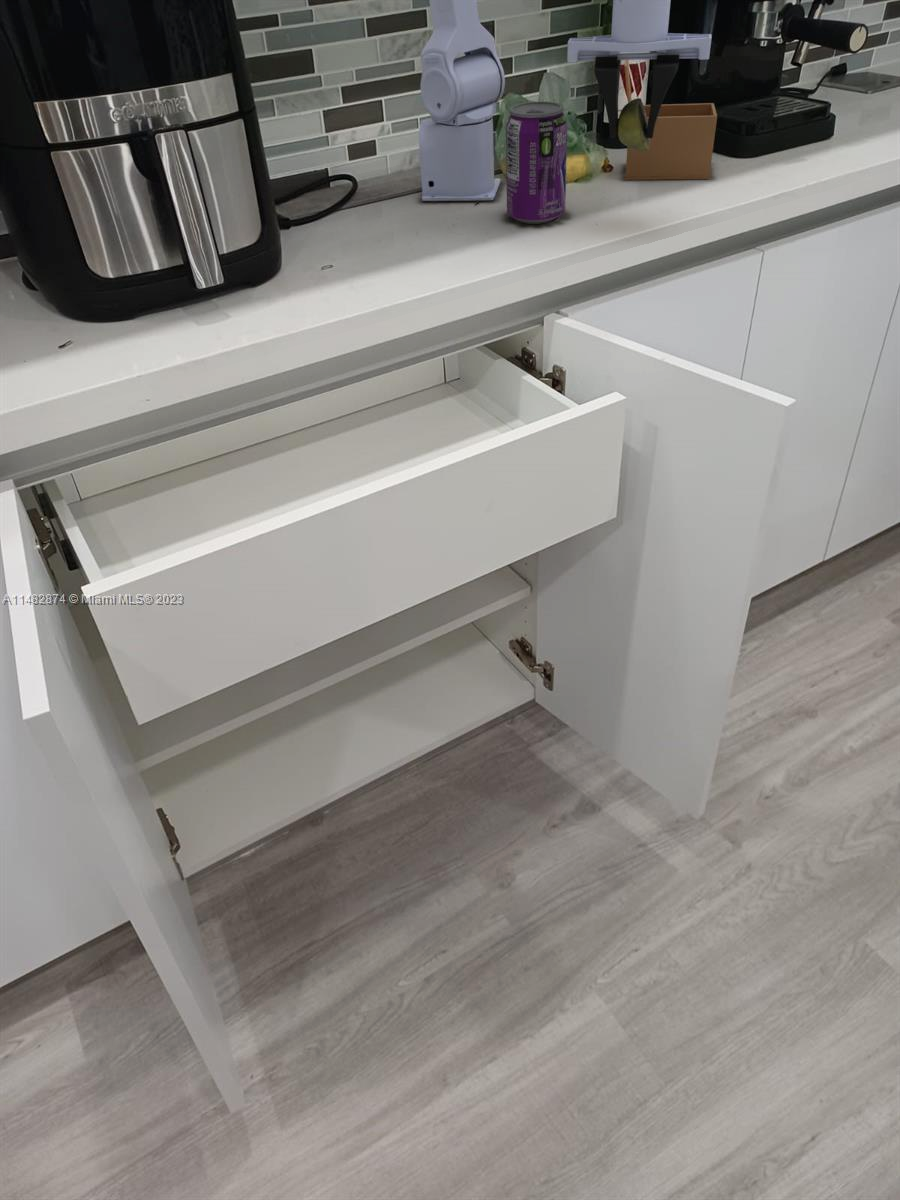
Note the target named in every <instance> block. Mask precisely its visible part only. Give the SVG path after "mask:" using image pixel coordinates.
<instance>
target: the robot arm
mask: <svg viewBox="0 0 900 1200" xmlns="http://www.w3.org/2000/svg"><path fill="white" fill-rule="evenodd" d="M671 1H672V0H612V15H611V16H612V17H611V33H610V34H607V35H598V36H596V35H595V36H586V37H570V38H569V39H568V41H567V55H566V59H567V60H566V62H567V64H569V63H570V64H571V63H572V64H573V63H578V62H592V61H593V62H594V68H593V71H594V75H595V79H596V81H597V84H598V86H599V90H600V92H601V95H602V98H603V102H604V106H605V110H606V114H607V115H606V116H607V120H608V129H609V130H608V131H609V139H617V136H618V133H617V122H618V118H619V91H620V77H621V66H622V65H621V64H622V61H625V60H628V61H631V60H632V61H634V60H639V61H640V60H641V61H642V60H654V63H653V69H652V84H651V96H650V105H651V106H650V113H649V119H648V125H647V135H646V138H653V134H654V127H655V123H656V120H657V116H658V113H659V110H660V107H661V105H663V102H664V101H665V100H664V99H665V98H666V95H667V92H668V91H669V88H670V86H671V84H672V82H673V80H674V78H675V76H676V74H677V72H678V70H679V65H680V59H681V60H682V59H698V60H709V59H710V56H711V55H710V54H711V46H712V34H711V33H675V32H674V33H673V32H669V24H670V12H671V11H670V10H671ZM429 9H430V15H431V21H432V27H433V31H432V34H431V36H430V38H429V39H428V41H427V42H426V44H425V46H423V49H422V50H421V53H420V63H421V79H420V87H419V88H420V97H421V99H422V103H423V106H424V108H425V110H426V112H427V113H428V114H429V116H430V117H431V118H427V119H422V120H421V121H420V124H419V125H420V126H419V130H418V131H419V132H418V152H419V165H420V179H421V180H420V181H421V194H422V195H421V201H423V202H446V201H447V202H449V201H450V202H456V201H457V202H459V201H461V202H463V201H464V202H465V201H468V202H469V201H471V202H472V201H474V202H475V201H493V200H495V197H496V195H497V192H498V190H499V187H500V184H501V178H495V158H494V157H495V156H494V154H495V153H494V117H493V116H494V114H496V113H497V104H498V103H499V102H500V100H501V99H502V97H503V94H504V91H505V86H506V77H505V76H506V75H505V70H504V68H503V64H502V62H501V60H500V58H499V56H498V52H497V48H496V40H495V38H494V36H493V35H492V34H491V33H490V32H489V31H488V30H487V29H486V28H485V27H484V26H483V25H482V24H481V22H480V19H479V18H480V17H479V9H478V2H477V0H429ZM461 54H464V55H463V56H459V55H461ZM457 56H459V57H457Z"/></svg>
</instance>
